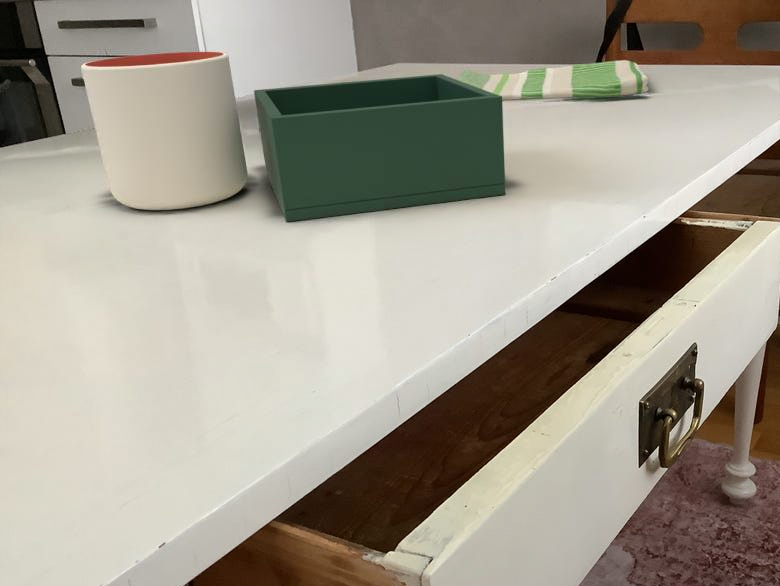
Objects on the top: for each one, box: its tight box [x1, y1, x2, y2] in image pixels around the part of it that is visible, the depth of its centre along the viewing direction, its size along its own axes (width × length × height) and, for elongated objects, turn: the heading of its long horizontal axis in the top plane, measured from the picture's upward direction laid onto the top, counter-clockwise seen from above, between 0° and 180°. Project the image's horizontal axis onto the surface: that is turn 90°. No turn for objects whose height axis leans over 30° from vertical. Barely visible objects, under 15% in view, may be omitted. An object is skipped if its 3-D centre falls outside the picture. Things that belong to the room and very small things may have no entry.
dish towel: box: [457, 59, 650, 101], centre depth 105 cm, size 18×23×3 cm
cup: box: [80, 51, 248, 211], centre depth 62 cm, size 10×10×10 cm
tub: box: [253, 73, 506, 223], centre depth 64 cm, size 16×16×7 cm
